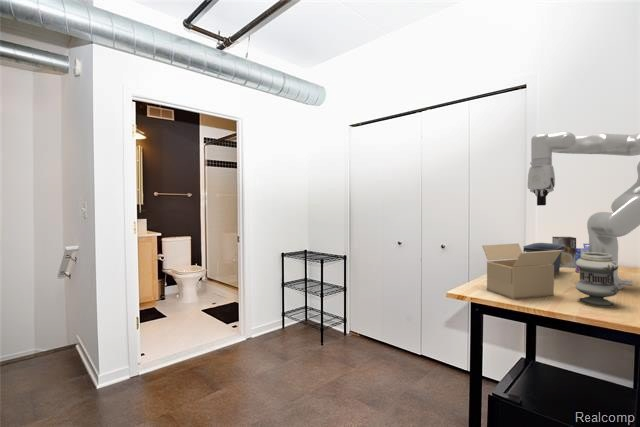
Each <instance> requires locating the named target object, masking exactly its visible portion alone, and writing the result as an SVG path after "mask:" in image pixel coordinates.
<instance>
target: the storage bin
mask: <svg viewBox="0 0 640 427" xmlns="http://www.w3.org/2000/svg"><path fill="white" fill-rule="evenodd" d="M564 246H565V245H562V244H552V242H551V243H549V242H533V243H531V244H526V245H523V246H522V248H523V250H522V252H523V253H524V252H539V251H554V250H564ZM560 260H561V253H560V254H559V256H558V257H557V259H556V260H555V262H554V263H553V264H552V265H554V275H556V274H558V273H559V272H560V269H561V267H560Z"/></svg>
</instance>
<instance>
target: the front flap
mask: <svg viewBox="0 0 640 427" xmlns="http://www.w3.org/2000/svg"><path fill="white" fill-rule="evenodd" d="M561 251H562V250H554V251H539V252H523V253H520V255H519V257H518V258H516V259H517V260H516V262H515V264H514V267H516V266H529V265H542V264H553V263H554V262H555V260H556V259H557V257H558V256H559V254H560V253H561Z"/></svg>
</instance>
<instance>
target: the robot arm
mask: <svg viewBox="0 0 640 427" xmlns="http://www.w3.org/2000/svg"><path fill="white" fill-rule="evenodd" d="M530 140H531V141H530V142H531V144H530V148H531V150H530V151H531V154H530V155H531V158H530V159H531V160H530V163H529V164H530V165H531V166H530V167H529V170H528V174H527V189H529V192H531V193H533V194H535V196H536V206H546V205H547V197H548V194H549V193H552V192H554V188H555V186H556V176H555V168H554V165H553V156H552V155H553V153H554V154H556V153H557V154H569V155H570V154H571V155H572V154H573V155H575V154H577V155H579V154H580V155H605V156H606V155H608V156H611V155H612V156H624V157H625V156H627V157H634V156H640V132H638V133H635V134H621V133H619V134H618V133H616V134H615V133H594V134H591V135H590V134H589V135H583V136H576V135H575V134H574V133H572V132H569V131H560V132H557V133H550V134H549V133H542V134H541V133H540V134H535V135H533V136H532V137H531V139H530ZM636 170H637V179H636V181H635V183H634V184H632V185H631V186H630V187H629V188H628V189H627V190H625V191H624V192H623V193H622V194H620V195H619V196H618V197H616V198H615V199H614V201H613V202H611V206H610V208H611V211H612V212H608V211H607V212H605V211H598V212H595V213H593V214H592V215H590V216H589V217H588V220H587V221H586V227H587V228H586V229H587V233H588V244H589V245H588V246H589V252H595V253H606V254H611V255H612V259H613V261H615V262H616V263H617V264H618V265H619V241H618V238H620V237H625V236H626V235H628V234H629V233H631V232H633V231H634V230H636V229H637V228H638V227H639V226H640V161H639V162H638V164H637V165H636ZM618 269H619V268H618ZM618 269H617V270H615V271H614V284H615V285H616V286H617V287H618V289H619V290H622V289H623V286H627V287H632V286H633V281H632V280H627V279H621V278H620V276H619V275H618V273H619V271H618Z"/></svg>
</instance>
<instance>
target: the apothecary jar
mask: <svg viewBox="0 0 640 427" xmlns="http://www.w3.org/2000/svg"><path fill="white" fill-rule="evenodd" d="M576 265H577V267H579V268H580V273H579V280H577V282H576V283H575V289H576V290H577V291H578V292H580V293H581V294H583V295H586V296H584V297H580V298H579V299H578V300H579V303H581V304H584V305H587V306H592V307H596V308H612V307H614V306H615V304H614V302H612V301H610V300H608V299H606V298H610V297H613V296H617V295H618V293H619V291H620V289H618V287H617V286H616V285H615V284H614V271H615V270H617V269H619V263H618V264H617V263H616V262H615V261H613V259H612V255H611V254H606V253H595V252H586V253H582V255H581V258H580V259H578V260H577V261H576Z"/></svg>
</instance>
